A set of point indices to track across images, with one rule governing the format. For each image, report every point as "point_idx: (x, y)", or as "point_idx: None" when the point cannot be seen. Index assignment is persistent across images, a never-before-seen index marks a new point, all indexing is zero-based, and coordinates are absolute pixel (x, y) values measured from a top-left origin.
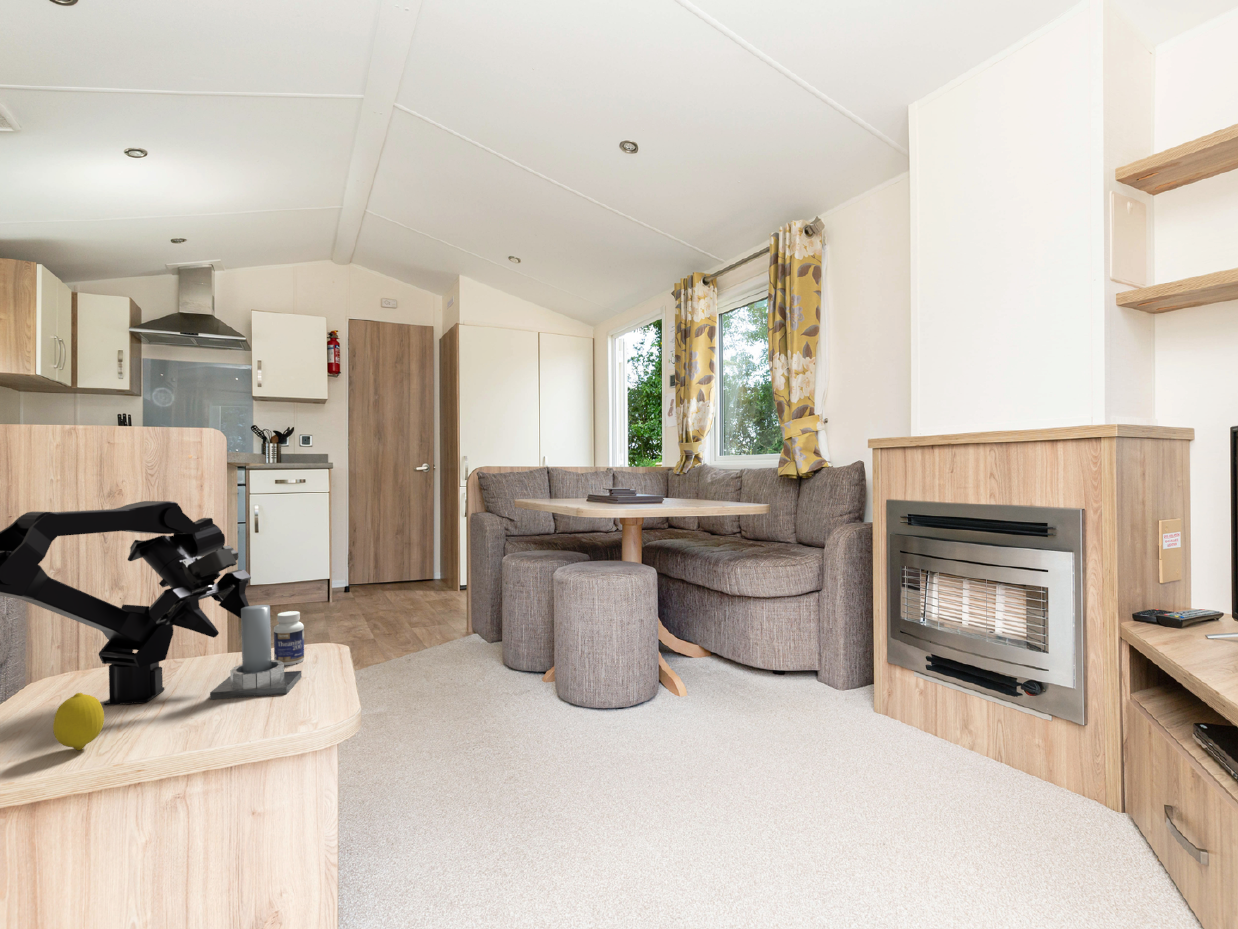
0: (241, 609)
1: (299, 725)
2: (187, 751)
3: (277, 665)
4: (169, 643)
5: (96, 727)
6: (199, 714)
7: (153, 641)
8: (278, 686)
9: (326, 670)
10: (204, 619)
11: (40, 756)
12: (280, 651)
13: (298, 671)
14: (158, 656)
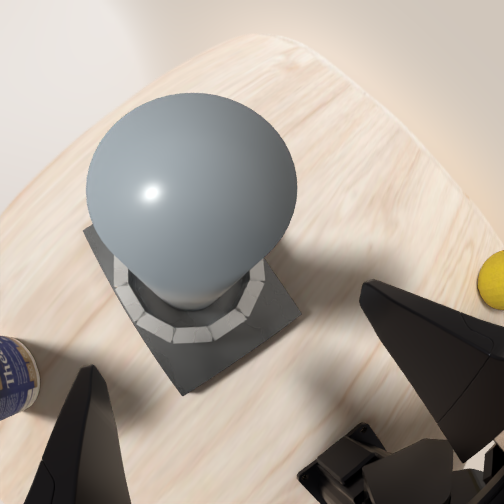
0: (285, 226)
1: (301, 66)
2: (419, 145)
3: None
4: (372, 491)
5: (495, 253)
6: (355, 251)
7: (434, 473)
8: None
9: (34, 220)
10: (452, 312)
11: (496, 311)
12: (20, 373)
13: (89, 233)
14: (389, 464)
